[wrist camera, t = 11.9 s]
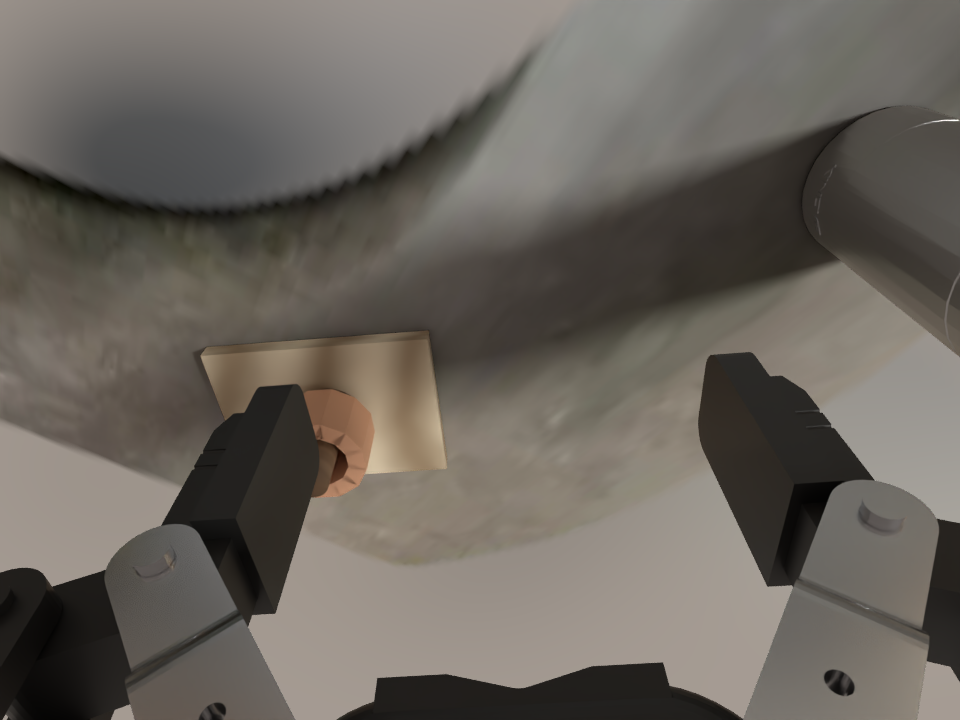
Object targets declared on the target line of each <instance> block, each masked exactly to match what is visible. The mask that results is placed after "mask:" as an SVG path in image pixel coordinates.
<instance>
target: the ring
mask: <svg viewBox="0 0 960 720" xmlns="http://www.w3.org/2000/svg"><path fill="white" fill-rule="evenodd" d="M304 398H305V401H306V405H307V408H308V412H309V415H310V418H311V422H312V425H313V429H314V432H315V436H316V439H317V440H318V439H319V440H322V441H325V442H328V443H331V444H334V445H336V446H337V447H338V448H339V451H338V455H337V458H336V462H335V465H334V469H333V473H332V476H331V480H330V483H329V487H328V490H327V491H326V493H325V494H323V495H321V496H319V497H334V496H341V495H343V494H345V493H346V492H348V491H350V490H352V489H354V488H356V487H357V486H359V484H360V482H361V480H362V478H363V476H364V474H365V472H366V470H367V467H368V462H369V457H370V453H371V448H372V443H373V438H374V434H375V430H374V425H373V421H372V416H371V413H370V412H369V411H368V410H367V409H366V408H365V407H364V406H363V405H362V404H361V403H360V402H359V401H358V400H357V399H356V398H355V397H352V396H350V395H347V394H344V393H341V392H339V391H336V390H333V389H326V390H312V391H307V392H305V393H304ZM315 498H318V497H315Z"/></svg>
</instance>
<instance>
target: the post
mask: <svg viewBox="0 0 960 720" xmlns="http://www.w3.org/2000/svg"><path fill="white" fill-rule="evenodd" d="M318 390H326V389H318ZM333 390H336V389H333ZM336 391H339V392H341V393H344V394H347V393H345V392H343V391H340V390H336ZM347 395H349V394H347ZM350 396H351V395H350ZM317 443H318V448H319V471H318V476H317V479H316V482H315V485H314V489H313V492H312V495H311V497H319V496H321V495H323V494H325V493H326V491H327V490H328V487H329V483H330V480H331V476H332V473H333V469H334V465H335V462H336V458H337V455H338V451H339V448H338V447H337V446H336V445H334V444H331V443H328V442H325V441H322V440H319V439H318V440H317Z"/></svg>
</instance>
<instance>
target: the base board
mask: <svg viewBox="0 0 960 720" xmlns="http://www.w3.org/2000/svg"><path fill="white" fill-rule="evenodd" d="M201 359H202V362H203V364H204V367H205V369H206V372H207V375H208V377H209V380H210V382H211V385H212V388H213V390H214V393H215V395H216V398H217V401H218V403H219V406H220V409H221V411H222V414H223V416H224V419H225V421H226V420H227V419H228V418H229V417H230V416H231V415H232V414H234V413H244V412H245V411H246V409H247V407H248V405H249V403H250V401H251V399H252V397H253V395H254V393H255V391H256V389H257V388H258V387H262V386H275V385H289V384H298V385H299V386H300V387H301V389H302V391H303V394H304V393H305V392H307V391H312V390H318V389H336V390H340V391H343V392H345V393H347V394H349V395H351V396H352V397H355V398H356V399H357V400H358V401H359V402H360V403H361V404H362V405H363V406H364V407H365V408H366V409H367V410H368V411H369V412H370V413H371V416H372V421H373V425H374V430H375V434H374V438H373V443H372V448H371V453H370V457H369V462H368V467H367V470H366V472H365V474H374V473H389V472H404V471H419V470H434V469H447V453H446V447H445V440H444V433H443V426H442V419H441V412H440V405H439V398H438V391H437V385H436V378H435V371H434V364H433V357H432V350H431V343H430V336H429V330H427V331H414V332H400V333H387V334H374V335H360V336H347V337H334V338H320V339H307V340H294V341H280V342H267V343H254V344H240V345H227V346H214V347H206V349H205V350H204V351H203V353H202V354H201Z"/></svg>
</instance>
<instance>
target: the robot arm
mask: <svg viewBox="0 0 960 720" xmlns="http://www.w3.org/2000/svg"><path fill="white" fill-rule="evenodd" d="M802 211H803V218H804V221H805V224H806V226H807V228H808V231H809V232H810V233H811V235H812V236H813V237H814V238H815V240H816V241H817V242H818V243H820V244H821V245H822V246H823V247H825V248H826V249H827V250H828V251H830V252H831V253H832V254H833V255H835V256H836V257H837V258H838V259H839V260H841V261H842V262H843V263H844V264H846V265H847V266H848V267H849V268H850V269H851V270H853V271H854V272H855V273H856V274H858V275H859V276H860V277H861V278H863V279H864V280H865V281H866V282H867V283H869V284H870V285H871V286H872V287H874V288H875V289H876V290H877V291H879V292H880V293H881V294H882V295H884V296H885V297H886V298H887V299H888V300H890V301H891V302H892V303H893V304H895V305H896V306H897V307H898V308H900V309H901V310H902V311H903V312H905V313H906V314H907V315H908V316H910V317H911V318H912V319H913V320H914V321H916V322H917V323H918V324H919V325H921V326H922V327H923V328H924V329H926V330H927V331H928V332H929V333H931V334H932V335H933V336H934V337H935V338H937V339H938V340H939V341H940V342H942V343H943V344H944V345H945V346H947V347H948V348H949V349H950V350H952V351H953V352H954V353H955V354H957V355H958V356H959V357H960V119H958V118H955V117H951V116H948V115H945V114H942V113H939V112H936V111H933V110H929V109H926V108H921V107H915V106H897V107H890V108H886V109H883V110H879V111H876V112H873V113H871V114H869V115H867V116H865V117H863V118H861V119H859V120H857V121H855V122H854V123H853V124H851V125H850V126H848V127H847V128H845V129H844V130H843V131H841V132H840V133H839V134H838V135H837V136H836V137H835V138H834V139H833V140H832V141H831V142H830V143H829V144H828V145H827V146H826V147H825V149H824V150H823V151H822V153H821V154H820V155H819V157H818V158H817V159H816V161H815V163H814V165H813V167H812V169H811V171H810V173H809V175H808V177H807V180H806V184H805V187H804V190H803V199H802ZM698 428H699V437H700V442H701V445H702V448H703V451H704V453H705V455H706V457H707V459H708V461H709V464H710V466H711V468H712V470H713V472H714V474H715V476H716V478H717V481H718V482H719V485H720V487H721V489H722V491H723V493H724V495H725V498H726V499H727V502H728V504H729V506H730V508H731V510H732V512H733V514H734V517H735V519H736V521H737V523H738V525H739V527H740V529H741V531H742V533H743V535H744V538H745V540H746V542H747V544H748V546H749V548H750V550H751V553H752V555H753V557H754V559H755V561H756V563H757V565H758V567H759V570H760V572H761V574H762V576H763V578H764V580H765V582H766V584H767V586H768V587H769V586H786V585H792V586H793V589H792V592H791V594H790V597H789V600H788V603H787V605H786V608H785V610H784V613H783V616H782V618H781V621H780V623H779V626H778V629H777V631H776V634H775V637H774V639H773V642H772V645H771V648H770V650H769V653H768V655H767V658H766V661H765V663H764V666H763V668H762V671H761V674H760V676H759V679H758V682H757V684H756V687H755V690H754V692H753V695H752V698H751V700H750V703H749V706H748V708H747V711H746V714H745V716H744V719H742V718H741V717H739V716H738V715H736V714H735V713H734V712H732V711H730V710H729V709H727V708H725V707H723V706H722V705H720V704H718V703H716V702H714V701H712V700H710V699H708V698H705V697H703V696H701V695H699V694H696V693H693V692H690V691H687V690H684V689H681V688H676V687H672V686H669V683H668V679H667V676H666V672H665V668H664V665H663V663H645V664H627V665H609V666H592V667H589V668H586V669H582V670H580V671H576V672H573V673H570V674H567V675H564V676H561V677H558V678H555V679H552V680H549V681H545V682H542V683H539V684H536V685H533V686H530V687H526V688H519V689H517V688H510V687H505V686H501V685H496V684H491V683H486V682H481V681H476V680H471V679H467V678H462V677H457V676H452V675H447V674H444V675H425V676H407V677H391V678H390V677H388V678H377V686H376V692H375V700H374V702H372V703H369V704H366V705H364V706H361V707H359V708H357V709H355V710H353V711H351V712H348V713H347V714H345V715H343V716H342V717H340V718H338V719H337V720H917V716H918V710H919V704H920V698H921V692H922V686H923V680H924V674H925V668H926V662H927V661H929V662H933V663H937V664H941V665H946V666H950V667H951V668H952V670H953V671H954V673H955V675H956V676H957V678H958V680H959V681H960V523H956V522H950V521H945V520H940V519H936V517H935V516H934V514H933V513H932V511H931V510H930V509H929V508H928V507H927V506H926V505H925V504H924V503H923V502H922V501H921V500H919V499H918V498H916V497H915V496H913V495H912V494H910V493H908V492H907V491H904V490H902V489H900V488H898V487H895V486H892V485H890V484H886V483H882V482H878V481H875V480H874V479H873V477H872V476H871V475H870V474H869V472H868V471H867V470H866V469H865V467H864V466H863V465H862V463H861V462H860V461H859V460H858V458H857V457H856V456H855V454H854V453H853V452H852V450H851V449H850V448H849V447H848V445H847V444H846V443H845V442H844V440H843V439H842V438H841V437H840V435H839V434H838V432H837V431H836V430H835V429H834V428H831V423H830V422H829V421H828V419H827V418H826V417H825V416H824V415H823V413H820V412H819V408H818V407H817V405H816V404H815V403H814V401H813V400H812V399H811V398H810V396H809V395H808V394H807V392H806V391H805V390H803V389H802V388H800V387H799V386H797V385H795V384H794V383H792V382H791V381H789V380H788V379H786V378H785V377H783V376H771V377H770V376H769V375H768V373H767V372H766V370H765V369H764V368H763V366H762V365H761V363H760V362H759V361H758V359H757V358H756V356H755V355H754V354H753V353H751V352H746V353H732V354H718V355H710V356H709V358H708V359H707V362H706V368H705V375H704V382H703V389H702V397H701V404H700V411H699V420H698ZM194 467H195V469H194V470H192V471H191V473H190V475H189V477H188V478H187V480H186V482H185V484H184V486H183V487H182V489H181V491H180V493H179V495H178V496H177V498H176V500H175V502H174V503H173V505H172V507H171V509H170V511H169V513H168V514H167V516H166V518H165V520H164V522H163V523H162V525H161V526H159V527H156V528H153V529H150V530H148V531H146V532H144V533H142V534H140V535H138V536H136V537H135V538H133V539H132V540H130V541H129V542H128V543H126V544H125V545H124V546H123V547H122V548H120V549H119V550H118V552H117V553H116V554H115V555H114V556H113V558H112V559H111V560H110V562H109V564H108V566H107V569H106V570H104V571H101V572H98V573H95V574H92V575H88V576H85V577H82V578H79V579H75V580H72V581H69V582H66V583H63V584H59V585H56V586H53V587H52V586H51V585H50V583H49V582H48V580H47V579H46V577H45V576H44V575H43V573H41V572H40V571H38V570H36V569H31V568H17V569H11V570H8V571H4V572H1V573H0V720H2V719H3V718H4V716H5V714H6V715H7V716H8V719H7V720H111V717H112V715H113V713H114V710H115V709H118V708H121V707H124V706H126V705H129V704H130V705H131V708H132V712H133V715H134V719H135V720H295V718H294V716H293V715H292V712H291V711H290V709H289V707H288V705H287V703H286V701H285V699H284V697H283V695H282V693H281V691H280V689H279V687H278V685H277V683H276V681H275V679H274V677H273V675H272V674H271V671H270V670H269V668H268V666H267V664H266V662H265V660H264V658H263V656H262V654H261V652H260V650H259V648H258V646H257V644H256V642H255V640H254V638H253V636H252V634H251V632H250V631H249V629H248V625H249V622H250V620H251V616H252V615H259V614H275V613H276V610H277V606H278V603H279V600H280V597H281V593H282V590H283V587H284V583H285V580H286V577H287V573H288V571H289V567H290V564H291V561H292V557H293V554H294V551H295V548H296V544H297V541H298V538H299V535H300V531H301V528H302V525H303V521H304V518H305V515H306V512H307V508H308V505H309V502H310V499H311V495H312V492H313V489H314V485H315V482H316V479H317V476H318V471H319V448H318V443H317V439H316V436H315V432H314V429H313V425H312V422H311V418H310V415H309V412H308V408H307V405H306V401H305V398H304V394H303V391H302V389H301V387H300V386H299V385H298V384H289V385H275V386H262V387H258V388H257V389H256V391H255V393H254V395H253V397H252V399H251V401H250V403H249V405H248V407H247V409H246V411H245V412H244V413H234V414H232V415H231V416H230V417H229V418H228V419H227V420H226V421H225V422H223V423H222V424H221V425H220V426H219V427H218V428H217V429H216V430H214V432H213V433H212V435H211V437H210V439H209V441H208V442H207V444H206V446H205V448H204V450H203V454H201V455H200V457H199V459H198V460H197V462H196V464H195V466H194Z"/></svg>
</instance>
